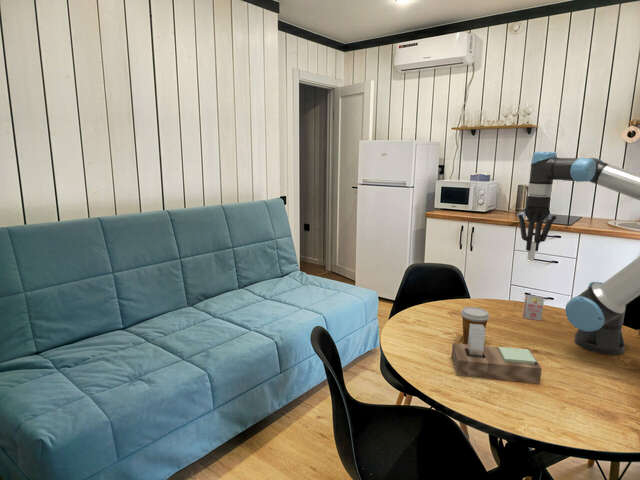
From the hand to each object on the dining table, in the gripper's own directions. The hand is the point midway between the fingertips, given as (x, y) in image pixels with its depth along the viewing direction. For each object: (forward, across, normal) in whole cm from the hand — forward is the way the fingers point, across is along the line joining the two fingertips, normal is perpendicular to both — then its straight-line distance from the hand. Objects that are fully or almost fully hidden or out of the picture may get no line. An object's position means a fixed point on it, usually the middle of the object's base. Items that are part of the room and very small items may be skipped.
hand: (530, 259), depth 153 cm
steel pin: (+29, +23, +31) cm, 48 cm away
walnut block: (+29, +17, +31) cm, 46 cm away
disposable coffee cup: (+30, +20, +12) cm, 38 cm away
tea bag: (+30, -9, -17) cm, 35 cm away
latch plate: (+24, +10, +31) cm, 41 cm away
